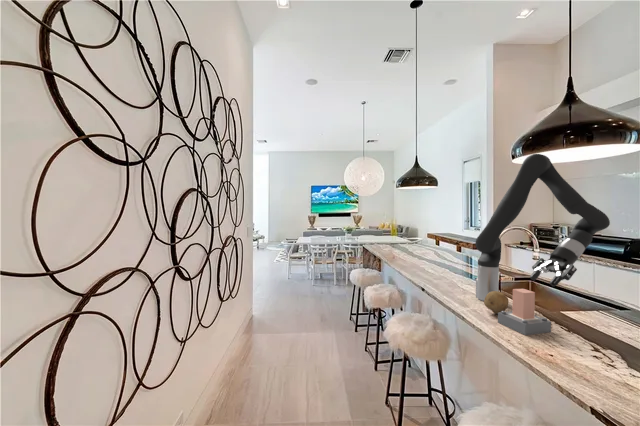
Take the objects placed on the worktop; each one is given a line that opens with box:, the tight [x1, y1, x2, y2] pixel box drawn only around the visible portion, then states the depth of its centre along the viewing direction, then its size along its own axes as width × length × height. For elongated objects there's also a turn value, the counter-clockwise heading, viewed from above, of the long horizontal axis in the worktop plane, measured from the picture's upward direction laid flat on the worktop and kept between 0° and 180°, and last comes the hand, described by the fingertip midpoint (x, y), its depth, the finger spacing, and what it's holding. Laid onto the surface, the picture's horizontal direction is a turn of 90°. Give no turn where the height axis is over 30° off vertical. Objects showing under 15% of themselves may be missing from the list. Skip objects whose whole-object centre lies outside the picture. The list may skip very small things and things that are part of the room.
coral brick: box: [511, 288, 536, 319], centre depth 112 cm, size 5×5×10 cm
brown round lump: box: [483, 290, 510, 315], centre depth 126 cm, size 9×9×10 cm
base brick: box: [497, 310, 552, 336], centre depth 112 cm, size 12×12×5 cm
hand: (541, 282), depth 113 cm, fingers open, 8 cm apart
